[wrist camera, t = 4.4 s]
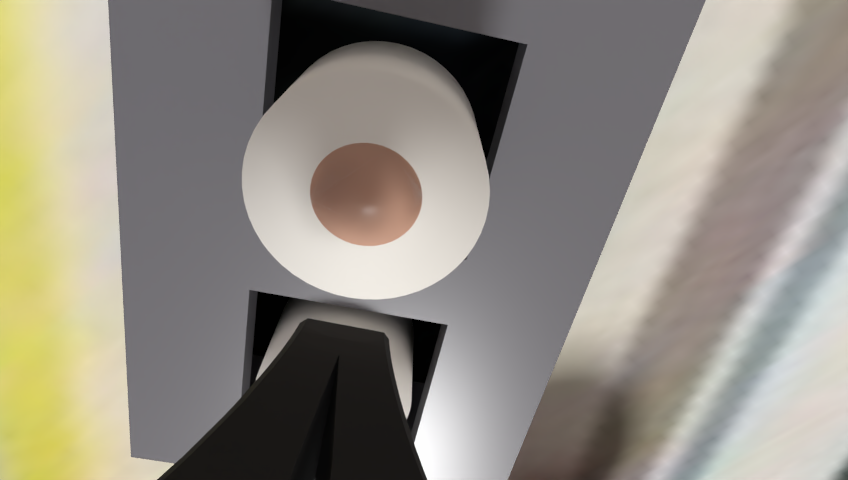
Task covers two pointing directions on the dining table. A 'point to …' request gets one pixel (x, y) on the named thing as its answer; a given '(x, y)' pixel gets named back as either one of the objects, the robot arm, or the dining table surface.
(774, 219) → the dining table surface
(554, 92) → the mount
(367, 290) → the button middle
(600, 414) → the dining table surface
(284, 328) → the button
